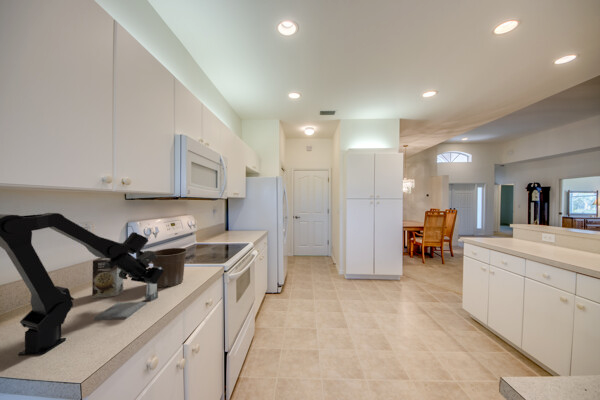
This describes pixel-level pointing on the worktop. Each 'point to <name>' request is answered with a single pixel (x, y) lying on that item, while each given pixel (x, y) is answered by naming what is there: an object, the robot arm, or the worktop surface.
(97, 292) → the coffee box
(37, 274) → the robot arm
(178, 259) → the plant pot
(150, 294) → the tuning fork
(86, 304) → the worktop surface
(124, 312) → the plate
